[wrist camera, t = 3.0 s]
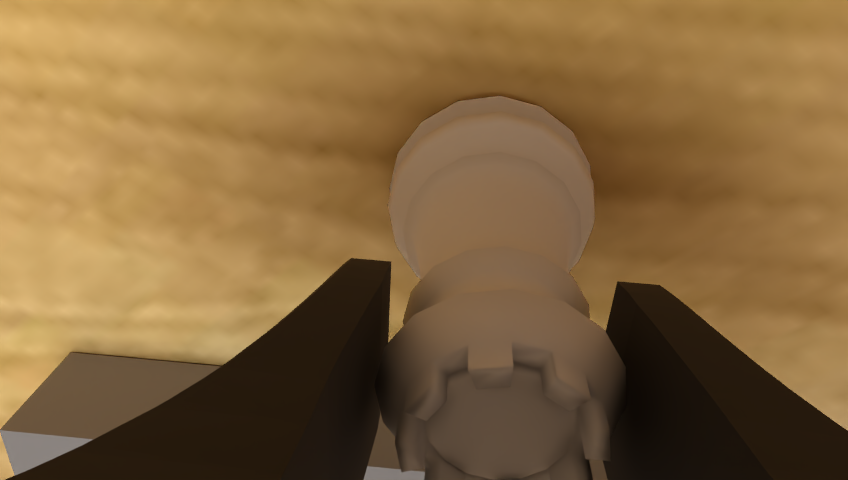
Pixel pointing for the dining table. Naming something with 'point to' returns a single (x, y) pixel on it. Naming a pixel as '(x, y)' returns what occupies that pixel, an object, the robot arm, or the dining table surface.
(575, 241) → the rook chess piece
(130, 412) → the grey flat square slab
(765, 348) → the dining table surface
